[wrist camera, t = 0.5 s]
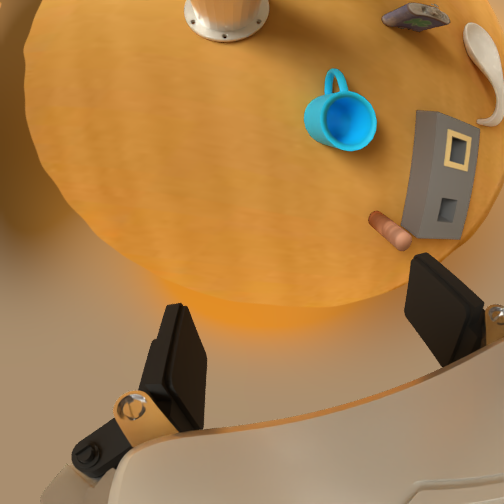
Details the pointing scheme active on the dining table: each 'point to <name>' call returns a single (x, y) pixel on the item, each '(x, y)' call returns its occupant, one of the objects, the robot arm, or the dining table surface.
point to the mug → (340, 116)
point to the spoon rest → (486, 66)
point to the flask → (416, 17)
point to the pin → (390, 230)
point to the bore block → (440, 176)
